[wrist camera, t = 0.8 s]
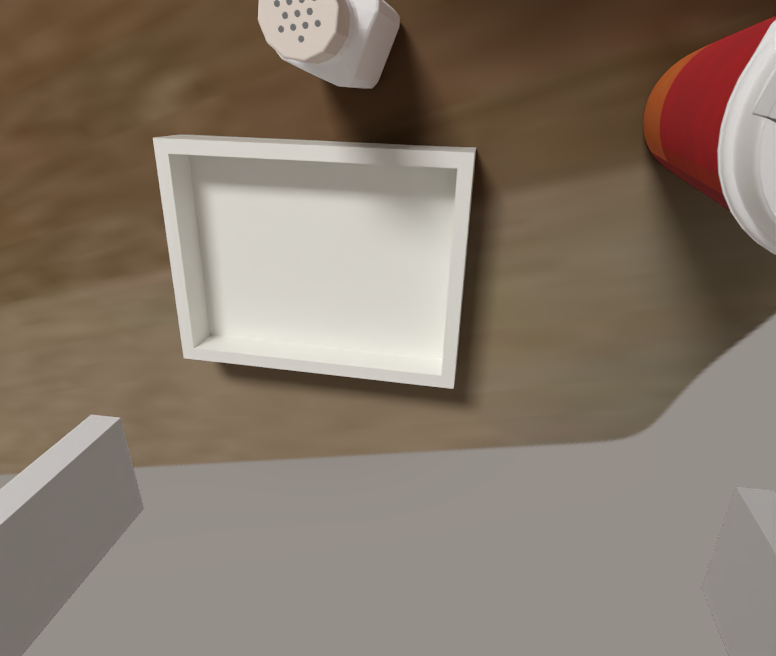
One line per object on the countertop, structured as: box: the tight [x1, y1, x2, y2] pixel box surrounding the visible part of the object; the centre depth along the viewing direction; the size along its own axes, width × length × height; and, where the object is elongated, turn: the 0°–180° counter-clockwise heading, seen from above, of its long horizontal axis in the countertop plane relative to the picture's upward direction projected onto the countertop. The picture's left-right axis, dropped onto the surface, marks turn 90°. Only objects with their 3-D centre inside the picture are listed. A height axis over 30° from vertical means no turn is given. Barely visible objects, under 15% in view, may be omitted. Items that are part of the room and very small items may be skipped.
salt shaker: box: [258, 0, 400, 89], centre depth 24 cm, size 4×4×10 cm
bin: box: [153, 135, 476, 389], centre depth 32 cm, size 14×18×3 cm
